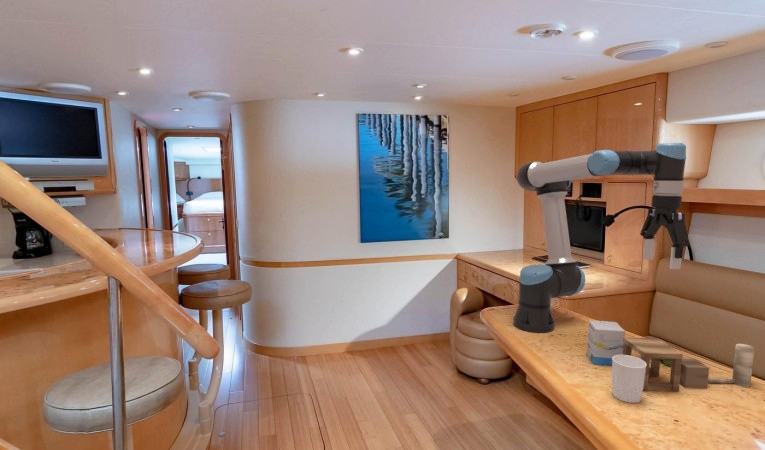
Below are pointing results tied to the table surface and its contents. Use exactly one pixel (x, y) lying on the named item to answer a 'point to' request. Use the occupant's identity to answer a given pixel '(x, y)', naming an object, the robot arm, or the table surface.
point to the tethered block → (697, 377)
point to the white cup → (628, 378)
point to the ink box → (604, 342)
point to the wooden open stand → (656, 361)
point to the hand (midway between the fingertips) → (660, 263)
